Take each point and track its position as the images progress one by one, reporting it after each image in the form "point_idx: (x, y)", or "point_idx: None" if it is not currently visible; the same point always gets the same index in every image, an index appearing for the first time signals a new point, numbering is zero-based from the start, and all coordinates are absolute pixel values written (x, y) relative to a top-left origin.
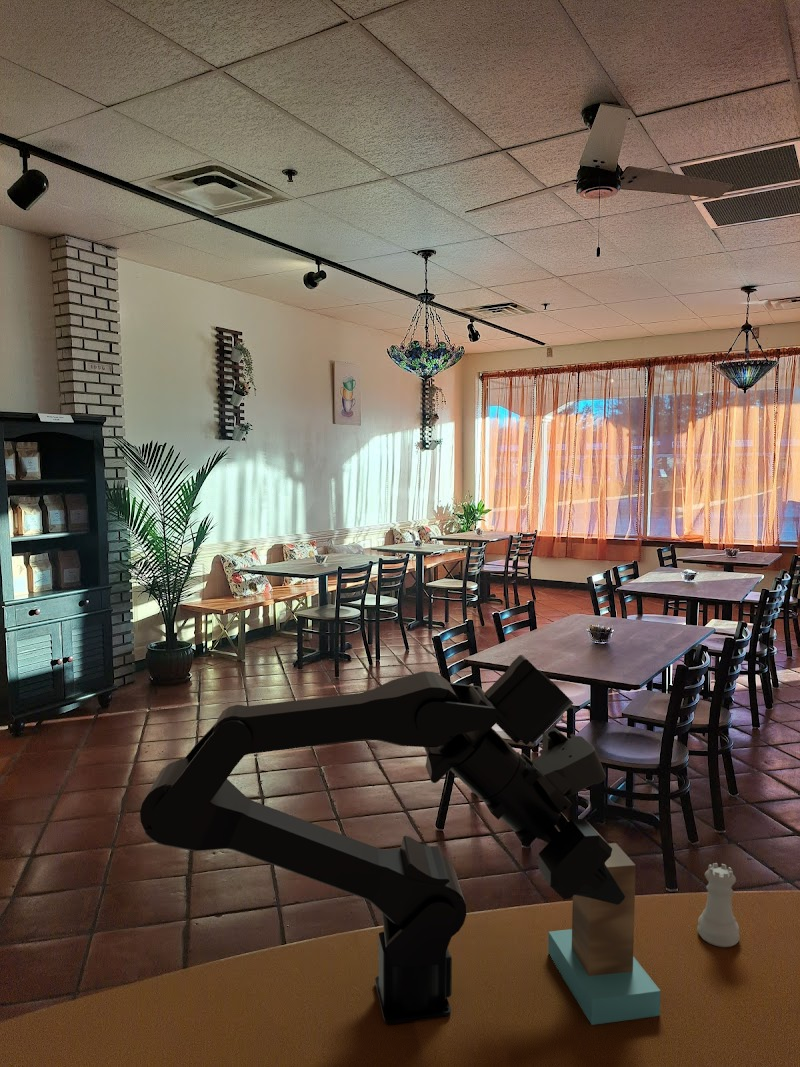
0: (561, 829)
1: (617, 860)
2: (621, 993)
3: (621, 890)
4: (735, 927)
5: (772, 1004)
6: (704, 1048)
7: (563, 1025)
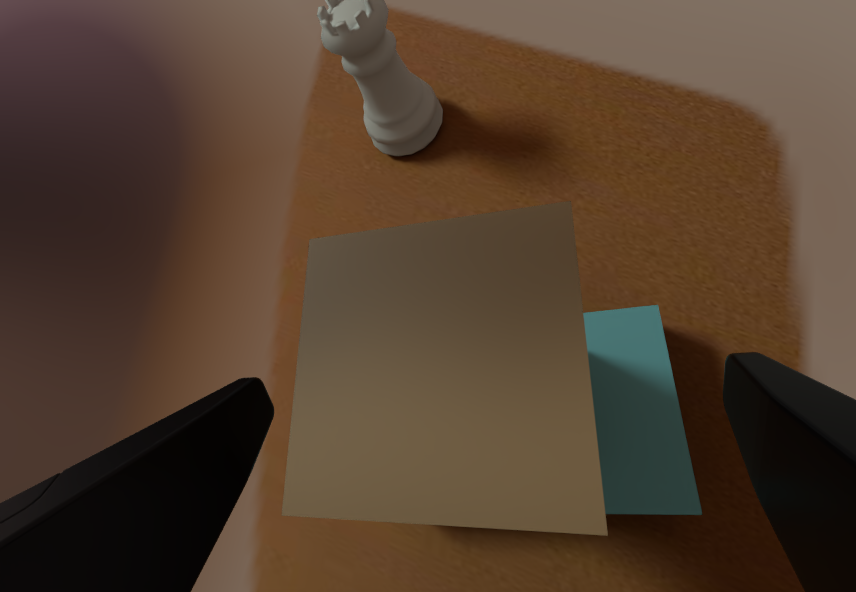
0: (114, 547)
1: (502, 292)
2: (670, 413)
3: (812, 379)
4: (422, 82)
5: (612, 97)
6: (761, 266)
7: (686, 586)
